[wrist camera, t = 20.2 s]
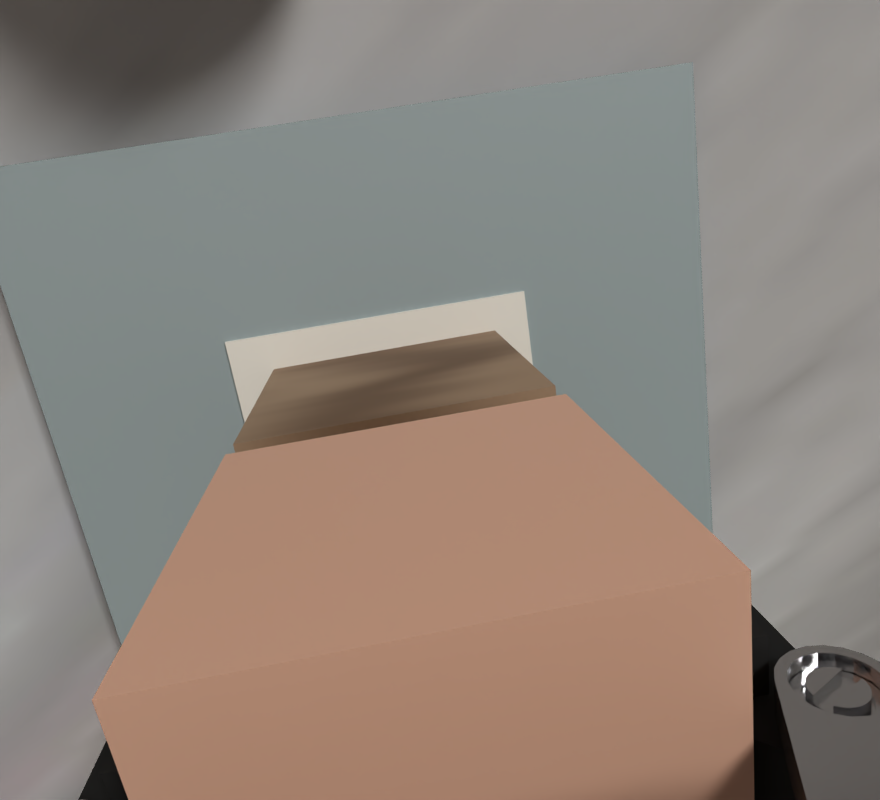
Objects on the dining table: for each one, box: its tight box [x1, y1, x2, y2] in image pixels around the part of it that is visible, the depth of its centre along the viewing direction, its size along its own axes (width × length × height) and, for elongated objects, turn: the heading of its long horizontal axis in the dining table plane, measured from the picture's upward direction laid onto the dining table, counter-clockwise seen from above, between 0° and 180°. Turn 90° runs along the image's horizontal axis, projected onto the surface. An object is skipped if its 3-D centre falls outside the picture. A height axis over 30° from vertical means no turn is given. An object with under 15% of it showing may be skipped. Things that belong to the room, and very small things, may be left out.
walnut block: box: [233, 330, 556, 453], centre depth 16 cm, size 6×6×6 cm
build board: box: [0, 62, 713, 645], centre depth 20 cm, size 18×18×1 cm
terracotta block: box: [92, 394, 754, 800], centre depth 10 cm, size 6×6×6 cm
